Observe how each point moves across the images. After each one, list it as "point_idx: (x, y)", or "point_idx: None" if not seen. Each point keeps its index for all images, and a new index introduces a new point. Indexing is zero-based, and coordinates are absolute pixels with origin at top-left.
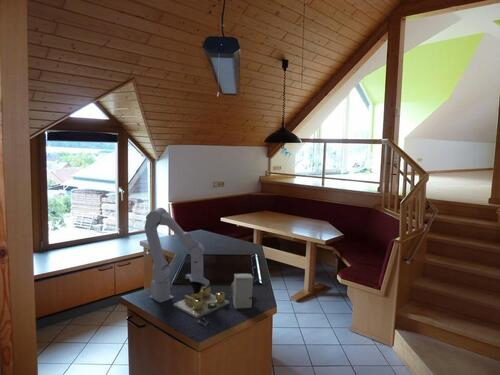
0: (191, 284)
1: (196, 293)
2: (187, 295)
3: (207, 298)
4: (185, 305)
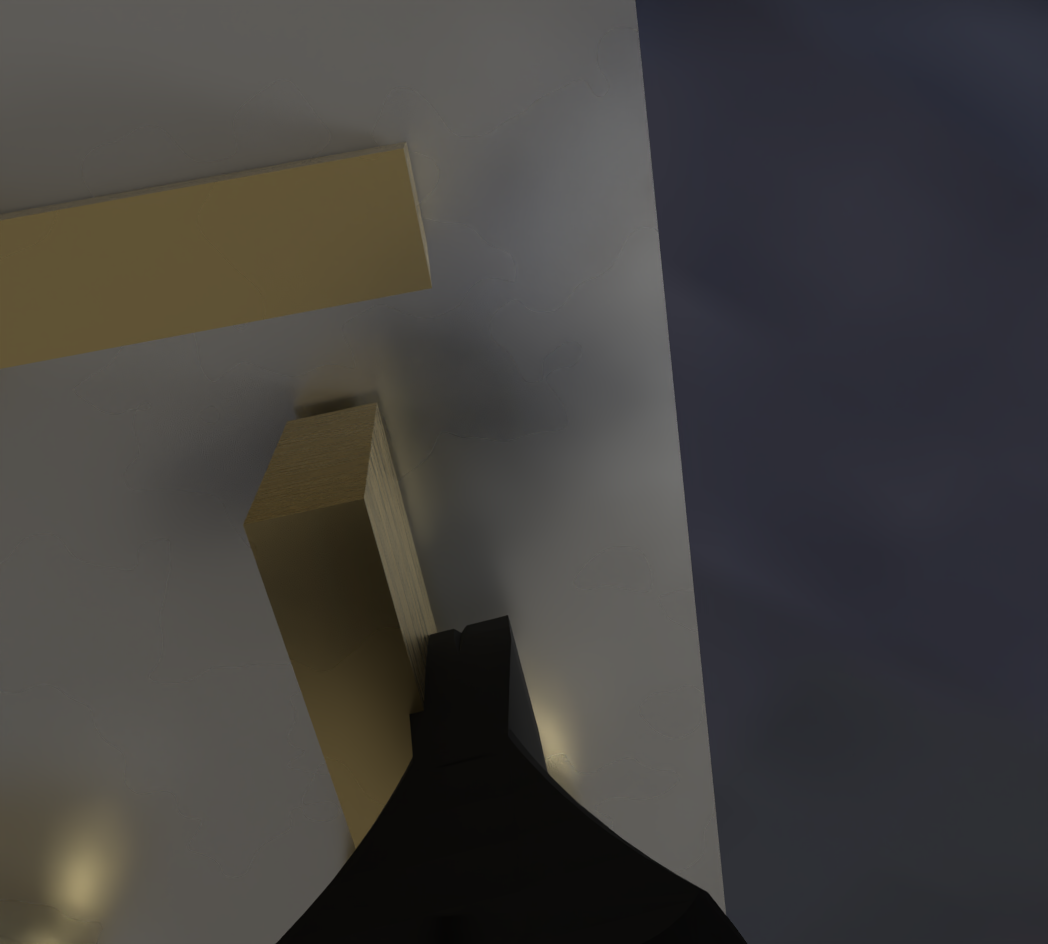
0: (619, 918)
1: (325, 717)
2: (340, 296)
3: (297, 854)
4: (164, 48)
